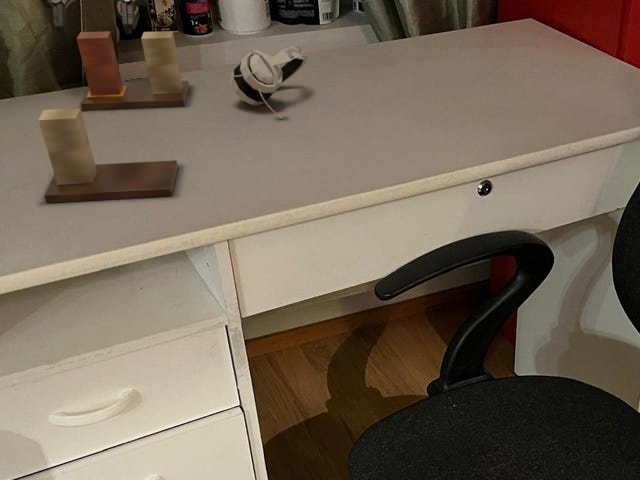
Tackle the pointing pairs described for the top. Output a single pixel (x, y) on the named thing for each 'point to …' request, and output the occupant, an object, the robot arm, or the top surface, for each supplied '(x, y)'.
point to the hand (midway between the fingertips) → (95, 32)
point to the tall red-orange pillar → (100, 63)
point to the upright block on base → (163, 80)
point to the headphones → (264, 74)
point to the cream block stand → (95, 166)
